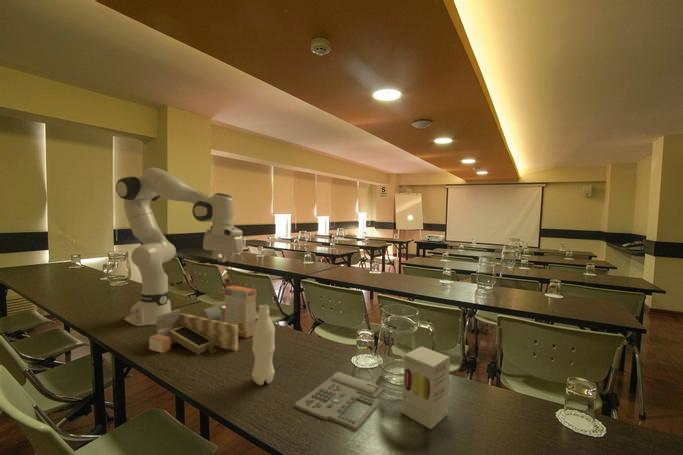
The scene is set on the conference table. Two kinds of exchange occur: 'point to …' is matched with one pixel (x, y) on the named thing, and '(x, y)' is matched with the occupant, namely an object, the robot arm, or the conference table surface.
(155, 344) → the orange brown block
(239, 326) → the cracker box
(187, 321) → the shelf
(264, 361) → the water bottle
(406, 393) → the supplement box
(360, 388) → the office telephone
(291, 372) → the conference table surface
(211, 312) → the ceramic mug
